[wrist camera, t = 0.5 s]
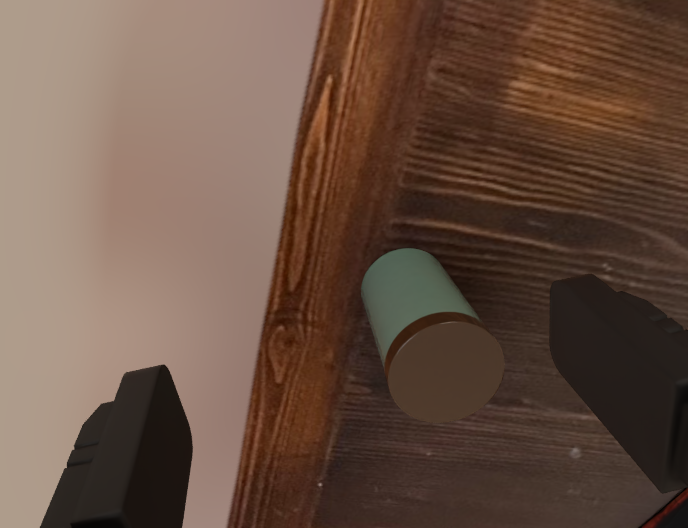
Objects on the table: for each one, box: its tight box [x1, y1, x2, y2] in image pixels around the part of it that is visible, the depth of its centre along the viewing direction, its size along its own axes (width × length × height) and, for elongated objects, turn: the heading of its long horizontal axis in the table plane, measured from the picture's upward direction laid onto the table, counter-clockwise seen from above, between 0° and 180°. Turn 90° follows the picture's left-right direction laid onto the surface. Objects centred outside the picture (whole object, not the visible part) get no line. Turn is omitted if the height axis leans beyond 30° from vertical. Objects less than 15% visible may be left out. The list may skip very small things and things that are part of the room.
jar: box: [361, 248, 505, 423], centre depth 28 cm, size 5×5×9 cm
